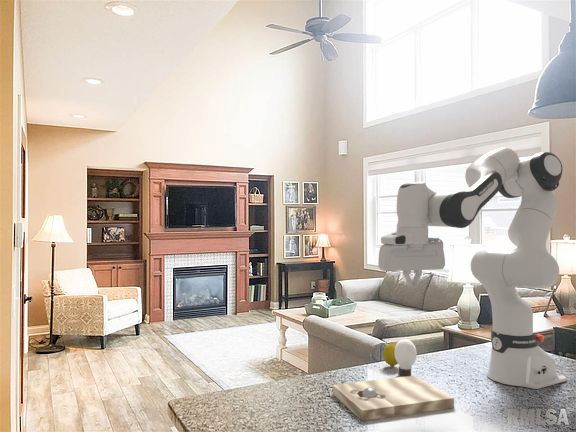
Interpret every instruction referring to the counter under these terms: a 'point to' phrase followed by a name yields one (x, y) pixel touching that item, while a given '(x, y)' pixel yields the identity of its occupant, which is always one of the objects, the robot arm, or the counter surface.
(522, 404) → the counter surface
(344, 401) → the beige flat wooden board
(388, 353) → the lemon
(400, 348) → the light bulb
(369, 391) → the ball
